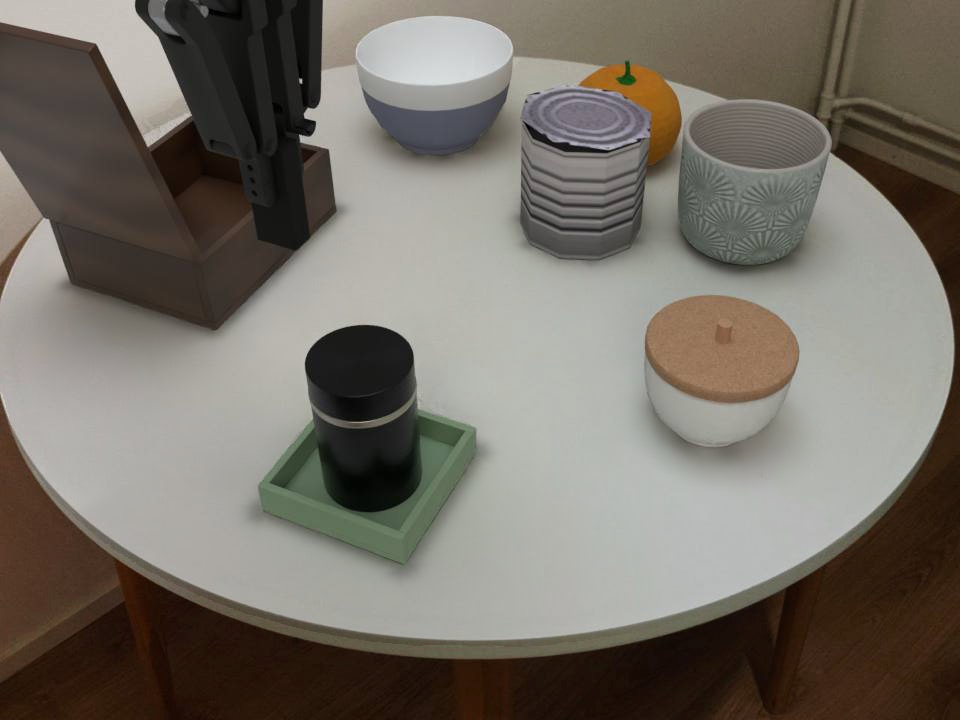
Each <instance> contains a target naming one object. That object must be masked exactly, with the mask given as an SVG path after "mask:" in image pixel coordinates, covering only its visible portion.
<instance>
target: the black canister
mask: <svg viewBox="0 0 960 720" xmlns="http://www.w3.org/2000/svg"><path fill="white" fill-rule="evenodd" d="M415 367H416V365H415V354H414V350H413V347H412V346H411V344H410V342H409V341H408V340H407V339H406V338H405V337H404V336H403V335H401V334H400V333H399V332H397V331H395V330H393V329H390V328H388V327H384V326H381V325H374V324H356V325H355V324H354V325H347V326H343V327H340V328H337V329H335V330H333V331H330V332H328V333H326V334H325V335H323V336H322V337H320V338H318V340H316V341H315V342H314V343H313V344H312V346H311V347H310V348H309V350H308V351H307V353H306V356H305V359H304V371H305V379H306V384H307V394H308V395H307V396H308V400H309V404H310V408H311V414H312V419H313V421H314V427H315V433H316V439H317V445H318V451H319V457H320V463H321V469H322V475H323V481H324V486H325V489H326V491H327V493H328V494H329V496H330V497H331V498H332V499H333V500H334V501H335V502H336V503H338V504H339V505H341V506H343V507H345V508H347V509H350V510H354V511H359V512H379V511H384V510H388V509H391V508H393V507H396V506H398V505H400V504H401V503H403V502H405V501H406V500H407V499H408V498H410V497H411V496H412V495H413V493H414V492H415V491H416V490H417V488H418V486H419V484H420V481H421V478H422V462H421V448H420V434H419V420H418V409H419V408H418V395H417V393H418V392H417V391H418V385H417V384H418V383H417V376H416V368H415Z"/></svg>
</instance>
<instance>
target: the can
mask: <svg viewBox="0 0 960 720" xmlns="http://www.w3.org/2000/svg"><path fill="white" fill-rule="evenodd" d="M519 119H520V120H521V144H520V145H521V150H520V151H521V154H520V155H521V156H520V164H521V165H520V210H519V211H520V216H519V217H520V218H519V221H520V222H519V224H520V226H521V228H522V230H523V233H524V235H525V237H526V239H527V241H528V244H529V245H530V246H532V247H534V248H537V249H538V250H540V251H543V252H545V253H547V254H549V255H551V256H554V257H555V258H558V259H559V260H581V261H583V260H585V261H600V260H603V259H606V258H608V257H610V256H611V257H612V256H613V255H616V254H619V253H621V252H624V251H626V250H629V249H630V248H631V247H632V245H633V243H634V241H635V239H636V237H637V235H638V234H639V232H640V230H641V225H642V217H643V207H644V198H645V188H646V179H647V171H648V166H647V161H648V151H649V142H650V132H651V112H649V111H648V110H646V109H644V108H643V107H641V106H639V105H638V104H636V103H635V102H633V101H631V100H630V99H628V98H627V97H625V96H623V95H622V94H620V93H618V92H616V91H609V90H602V89H595V88H588V87H581V86H578V85H573V84H563V85H560V86H555V87H552V88H548V89H544V90H541V91H537V92H533V93H530V94H526V97H525V100H524V104H523V107H522V111H521V115H520V118H519Z"/></svg>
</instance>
